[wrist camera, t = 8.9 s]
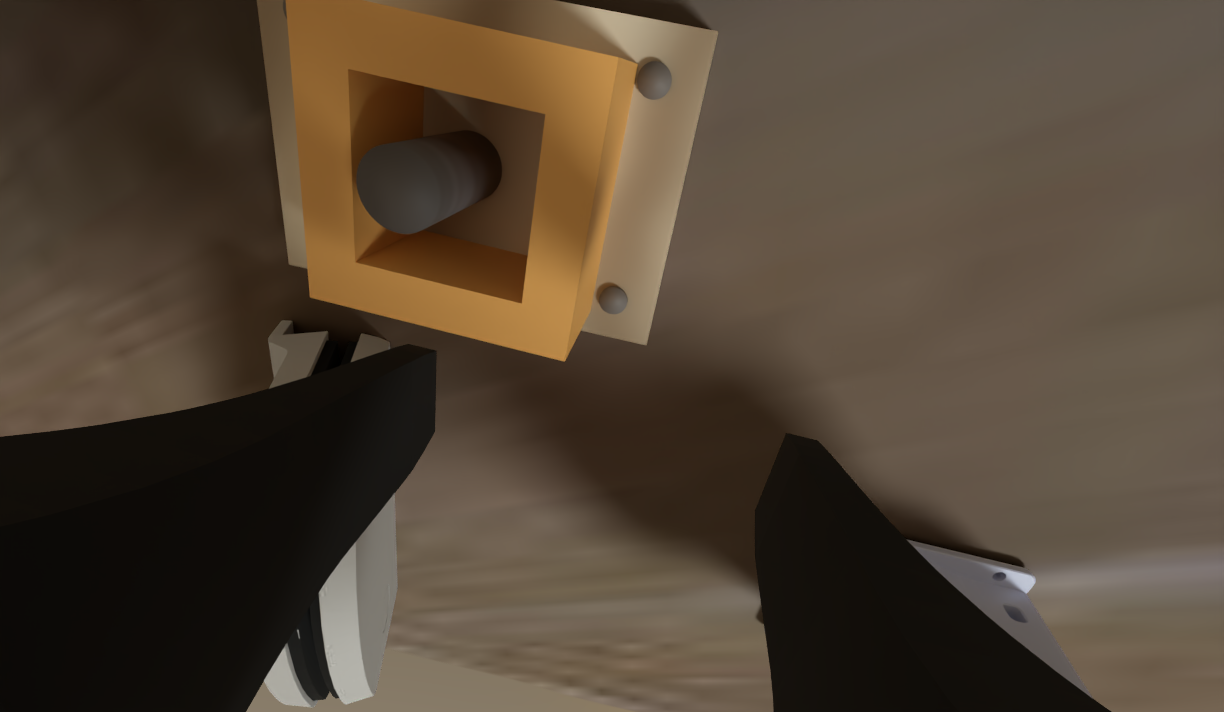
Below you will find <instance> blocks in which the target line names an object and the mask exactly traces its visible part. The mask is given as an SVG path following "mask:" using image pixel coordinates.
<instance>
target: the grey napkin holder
mask: <svg viewBox="0 0 1224 712" xmlns="http://www.w3.org/2000/svg"><path fill="white" fill-rule="evenodd" d="M268 343H269V350H270V356H271V363H272V369H273V376H274V380H273V382H272V383H271V385H270V387H269V388H273V387H276V386H279V385H282V384H286V383H289V382H292V381H296V380H299V379H302V378H305V377H309V376H312V375H315V374H318V373H321V372H324V371H327V370H330V369H333V368H335V367H338V366H341V365H344V364H347V363H350V362H353V361H356V360H359V359H362V358H365V357H367V356H370V355H373V354H376V353H379V352H382V351H385V350H389V349H390V342H388V341H386V340H384V339H382V338H379V337H375V336H371V335H367V334H363V333H361V335H360V338H359V341H358V342H349V344H348V347H347V349H346V352H345V355H344V357H343V360H342V362H341V365H340V364H339V352H338V341H329V339H328V331H323V332H312V333H300V334H294V328H293V321H289V320H282V321H281V322H280V323H279V324H278V326H277V327H276V328H275V330H274V331H273V332H272V333H271V335H270V336H269V337H268ZM397 589H398V585H397V553H396V521H395V493H394V495H393V496H392V497H391V498H390V500H389V501H388V502H387V503H386V505H385V506H384V507H383V508H382V510H381V511H380V512H379V513H378V515H377V516H376V517H375V518H374V520H373V521H372V522H371V523H370V525H369V526H368V527H367V528H366V530H365V531H364V532H363V533H362V535H361V536H360V537H359V538H358V540H357V541H356V542H355V543H354V545H353V546H352V547H351V548H350V550H349V551H348V552H347V553H346V555H345V556H344V557H343V559H342V560H341V561H340V563H339V564H338V565H337V567H336V568H335V570H334V571H333V572H332V574H331V575H330V576H329V578H328V579H327V581H326V582H325V584H324V585H323V587H322V588H321V590H320V592H319V593H318V595H317V596H316V598H315V599H314V601H313V602H312V604H311V606H310V607H309V609H308V610H307V612H306V613H305V615H304V616H303V618H302V619H301V621H300V623H299V624H298V626H297V627H296V629H295V631H294V632H293V634H292V635H291V637H290V639H289V640H288V642H287V644H286V645H285V647H284V649H283V650H282V652H281V653H280V655H279V657H278V658H277V660H276V662H275V663H274V665H273V666H272V668H271V670H270V671H269V673H268V675H267V676H266V678H265V680H264V682H265V684H266V685H267V687H268V689H269V691H270V692H271V693H272V694H273V695H274V696H275V698H277V700H279V701H280V702H282V703H283V704H285V705H294V706H305V707H314V706H315V705H316V703H317V702H318V700H323V699H326V697H327V695H328V693H329V691H330V692H331V694H332V696H334V697H335V698H340V700H341V701H342V702H343V703H344V704H349V703H352V702H355V701H358V700H361V699H365V698H368V697H371V696H374V695H375V692H376V689H377V684H378V680H379V675H380V670H381V665H382V661H383V656H384V651H385V646H386V642H387V637H388V632H389V627H390V622H391V618H392V613H393V608H394V603H395V598H396V594H397Z"/></svg>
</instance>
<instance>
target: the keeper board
mask: <svg viewBox="0 0 1224 712" xmlns="http://www.w3.org/2000/svg"><path fill="white" fill-rule="evenodd" d="M364 1H369V2H373V3H378V4H382V5H387V6H391V7H396V8H400V9H405V10H409V11H414V12H418V13H423V14H427V15H432V16H436V17H441V18H445V19H450V20H454V21H458V22H463V23H467V24H472V25H476V26H481V27H485V28H490V29H494V30H499V31H503V32H508V33H512V34H517V35H521V36H526V37H530V38H535V39H539V40H544V41H548V42H553V43H557V44H562V45H566V46H570V47H575V48H579V49H584V50H588V51H593V52H597V53H602V54H606V55H611V56H615V57H619V58H622V59H625V60H628V61H631V62H634V63H637V64H638V68H637V73H636V78H635V83H634V88H633V94H632V99H631V104H630V109H629V114H628V119H627V125H626V130H625V135H624V140H623V145H622V150H621V156H620V161H619V166H618V171H617V176H616V182H615V187H614V192H613V197H612V202H611V207H610V213H609V218H608V223H607V228H606V233H605V239H604V244H603V249H602V254H601V259H600V264H599V270H598V275H597V280H596V285H595V290H594V295H593V301H592V306H591V311H590V313H589V315H588V317H587V319H586V321H585V323H584V325H583V327H582V329H581V331H585V332H589V333H594V334H598V335H602V336H607V337H611V338H616V339H620V340H625V341H629V342H633V343H638V344H642V345H647V341H648V336H649V332H650V328H651V323H652V319H653V315H654V310H655V306H656V302H657V297H658V293H659V289H660V284H661V280H662V275H663V271H664V267H665V262H666V258H667V254H668V249H669V245H670V241H671V236H672V232H673V228H674V223H675V219H676V214H677V210H678V206H679V201H680V197H681V193H682V188H683V184H684V180H685V175H686V171H687V167H688V162H689V158H690V153H691V149H692V145H693V140H694V136H695V132H696V127H697V123H698V119H699V114H700V110H701V105H702V101H703V97H704V92H705V88H706V84H707V79H708V75H709V71H710V66H711V62H712V58H713V53H714V49H715V44H716V40H717V36H718V31H713V30H708V29H703V28H698V27H692V26H687V25H682V24H677V23H671V22H666V21H661V20H656V19H650V18H645V17H640V16H635V15H629V14H624V13H619V12H614V11H608V10H603V9H598V8H593V7H587V6H582V5H577V4H572V3H566V2H561V1H556V0H364ZM257 6H258V15H259V23H260V31H261V39H262V48H263V56H264V64H265V72H266V80H267V89H268V97H269V105H270V113H271V121H272V130H273V138H274V146H275V154H276V163H277V171H278V179H279V187H280V195H281V204H282V212H283V220H284V228H285V237H286V245H287V253H288V261H289V265H294V266H298V267H302V268H307V256H306V243H305V231H304V219H303V207H302V195H301V182H300V170H299V158H298V146H297V134H296V121H295V109H294V97H293V85H292V73H291V60H290V48H289V36H288V24H287V12H286V0H257ZM544 121H545V114H542V113H538V112H534V111H529V110H525V109H521V108H516V107H512V106H508V105H503V104H499V103H495V102H490V101H486V100H481V99H477V98H473V97H468V96H464V95H460V94H455V93H451V92H447V91H442V90H438V89H434V88H429V87H425V86H424V108H423V137H422V138H416V139H411V140H405V141H399V142H394V143H388V144H383V145H379V146H376V147H374V148H372V149H370V150H369V151H368V152H367V153H366V154H365V155H364V156H363V158H362V159H361V161H360V163H359V165H358V169H357V175H356V183H357V190H358V194H359V197H360V200H361V202H362V204H363V206H364V207H365V209H366V210H367V212H368V213H369V215H370V216H371V217H372V218H373V219H374V220H375V221H376V222H377V223H379V224H380V225H381V226H383V227H385V228H386V229H388V230H391V231H393V232H396V233H401V234H412V233H416V232H419V231H421V230H425V231H429V232H433V233H437V234H441V235H445V236H449V237H453V238H458V239H462V240H466V241H470V242H474V243H478V244H482V245H486V246H490V247H495V248H499V249H503V250H507V251H511V252H515V253H519V254H523V255H527V256H528V250H529V242H530V234H531V226H532V218H533V209H534V201H535V193H536V185H537V177H538V169H539V161H540V153H541V145H542V137H543V129H544ZM307 269H308V268H307Z"/></svg>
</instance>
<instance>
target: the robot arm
mask: <svg viewBox="0 0 1224 712" xmlns="http://www.w3.org/2000/svg"><path fill="white" fill-rule="evenodd" d="M435 400H436V351H435V350H431V349H427V348H422V347H418V346H414V345H410V344H407V345H403V346H399V347H395V348H392V349H389V350H385V351H382V352H379V353H376V354H373V355H370V356H367V357H365V358H362V359H359V360H356V361H353V362H350V363H347V364H344V365H341V366H338V367H335V368H333V369H330V370H327V371H324V372H321V373H318V374H315V375H312V376H309V377H305V378H302V379H299V380H296V381H292V382H289V383H286V384H282V385H279V386H276V387H273V388H269V389H266V390H263V391H259V392H256V393H252V394H249V395H245V396H241V397H237V398H233V399H230V400H226V401H222V402H217V403H213V404H208V405H204V406H200V407H195V408H191V409H186V410H181V411H176V412H172V413H166V414H160V415H154V416H148V417H143V418H137V419H131V420H125V421H119V422H114V423H108V424H102V425H95V426H88V427H81V428H73V429H65V430H58V431H50V432H41V433H32V434H23V435H13V436H4V437H0V712H246V711H247V709H248V707H249V706H250V704H251V702H252V700H253V699H254V697H255V695H256V693H257V692H258V690H259V688H260V687H261V685H262V683H263V681H264V680H265V678H266V676H267V675H268V673H269V671H270V670H271V668H272V666H273V665H274V663H275V662H276V660H277V658H278V657H279V655H280V653H281V652H282V650H283V649H284V647H285V645H286V644H287V642H288V640H289V639H290V637H291V635H292V634H293V632H294V631H295V629H296V627H297V626H298V624H299V623H300V621H301V619H302V618H303V616H304V615H305V613H306V612H307V610H308V609H309V607H310V606H311V604H312V602H313V601H314V599H315V598H316V596H317V595H318V593H319V592H320V590H321V588H322V587H323V585H324V584H325V582H326V581H327V579H328V578H329V576H330V575H331V574H332V572H333V571H334V570H335V568H336V567H337V565H338V564H339V563H340V561H341V560H342V559H343V557H344V556H345V555H346V553H347V552H348V551H349V550H350V548H351V547H352V546H353V545H354V543H355V542H356V541H357V540H358V538H359V537H360V536H361V535H362V533H363V532H364V531H365V530H366V528H367V527H368V526H369V525H370V523H371V522H372V521H373V520H374V518H375V517H376V516H377V515H378V513H379V512H380V511H381V510H382V508H383V507H384V506H385V505H386V503H387V502H388V501H389V500H390V498H391V497H392V496H393V495H394V493H395V492H396V491H397V489H398V488H399V487H400V486H401V484H402V483H403V482H404V481H405V479H406V478H407V477H408V475H409V474H410V473H411V471H412V470H413V468H414V467H415V465H416V463H417V462H418V460H419V458H420V457H421V455H422V454H423V452H424V450H425V448H426V446H427V445H428V443H429V441H430V439H431V438H432V436H433V434H434V432H435ZM755 559H756V568H757V575H758V583H759V591H760V598H761V605H762V612H763V620H764V628H765V634H766V641H767V648H768V656H769V663H770V670H771V680H772V691H773V706H774V712H1111V711H1110V710H1108V709H1107V708H1105V707H1104V706H1102V705H1101V704H1100V703H1098V702H1097V701H1095V700H1094V699H1093V698H1092V696H1091V694H1090V693H1089V691H1088V690H1087V688H1086V687H1085V685H1084V683H1083V682H1082V680H1081V679H1080V677H1079V676H1078V674H1077V672H1076V671H1075V669H1074V668H1073V666H1072V665H1071V663H1070V661H1069V660H1068V658H1067V657H1066V655H1065V653H1064V652H1063V650H1062V649H1061V647H1060V646H1059V644H1058V642H1057V641H1056V639H1055V638H1054V636H1053V635H1052V633H1051V631H1050V630H1049V628H1048V627H1047V625H1046V624H1045V622H1044V620H1043V619H1042V617H1041V616H1040V614H1039V613H1038V611H1037V609H1036V608H1035V606H1034V605H1033V603H1032V602H1031V600H1030V598H1029V597H1028V595H1027V593H1028V591H1029V590H1030V589H1031V588H1032V586H1033V585H1034V584H1035V582H1036V579H1035V577H1034V575H1033V574H1032V572H1031V571H1030V570H1029V569H1026V568H1023V567H1019V566H1015V565H1011V564H1007V563H1002V562H998V561H994V560H990V559H986V558H982V557H978V556H973V555H969V554H965V553H961V552H957V551H953V550H948V549H944V548H940V547H936V546H932V545H928V544H924V543H919V542H915V541H911V540H907V539H905V538H904V537H903V535H902V534H901V533H900V532H899V531H898V530H897V529H896V528H895V527H894V526H893V525H892V524H891V523H890V522H889V520H888V519H887V518H886V517H885V516H884V515H883V514H882V513H881V512H880V511H879V509H878V508H877V507H876V506H875V505H874V504H873V503H872V502H871V500H870V499H869V498H868V497H867V496H866V495H865V494H864V492H863V491H862V490H861V489H860V488H859V487H858V485H857V484H856V483H855V482H854V481H853V480H852V479H851V477H850V476H849V475H848V474H847V473H846V472H845V470H844V469H843V468H842V467H841V466H840V465H839V463H838V462H837V461H836V460H835V459H834V458H833V456H832V455H831V454H830V453H829V452H828V451H827V450H826V449H825V448H824V447H823V446H822V445H821V444H820V443H819V442H818V441H817V440H813V439H809V438H804V437H800V436H796V435H792V434H787V433H786V435H785V438H784V440H783V443H782V445H781V448H780V450H779V453H778V455H777V458H776V460H775V463H774V465H773V468H772V470H771V473H770V475H769V478H768V480H767V482H766V485H765V487H764V490H763V492H762V495H761V497H760V500H759V502H758V505H757V507H756V510H755ZM998 572H999V573H998Z"/></svg>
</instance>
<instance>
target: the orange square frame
mask: <svg viewBox="0 0 1224 712" xmlns="http://www.w3.org/2000/svg"><path fill="white" fill-rule="evenodd" d="M286 12H287V24H288V36H289V48H290V60H291V73H292V85H293V97H294V109H295V121H296V134H297V146H298V158H299V170H300V182H301V195H302V207H303V219H304V231H305V243H306V256H307V268H308V280H309V292H310V298H314V299H318V300H322V301H326V302H330V303H334V304H338V305H342V306H346V307H350V308H354V309H358V310H362V311H366V312H370V313H373V314H377V315H381V316H385V317H389V318H393V319H397V320H401V321H405V322H409V323H413V324H417V325H421V326H425V327H429V328H433V329H437V330H441V331H445V332H449V333H453V334H457V335H461V336H465V337H469V338H473V339H477V340H481V341H485V342H489V343H493V344H497V345H500V346H504V347H508V348H512V349H516V350H520V351H524V352H528V353H532V354H536V355H540V356H544V357H548V358H552V359H556V360H560V361H564V362H565V360H566V358H567V356H568V354H569V352H570V350H571V348H572V347H573V345H574V343H575V341H576V339H577V337H578V335H579V333H580V331H581V329H582V327H583V325H584V323H585V321H586V319H587V317H588V315H589V313H590V311H591V306H592V301H593V295H594V290H595V285H596V280H597V275H598V270H599V264H600V259H601V254H602V249H603V244H604V239H605V233H606V228H607V223H608V218H609V213H610V207H611V202H612V197H613V192H614V187H615V182H616V176H617V171H618V166H619V161H620V156H621V150H622V145H623V140H624V135H625V130H626V125H627V119H628V114H629V109H630V104H631V99H632V94H633V88H634V83H635V78H636V73H637V68H638V64H637V63H634V62H631V61H628V60H625V59H622V58H619V57H615V56H611V55H606V54H602V53H597V52H593V51H588V50H584V49H579V48H575V47H570V46H566V45H562V44H557V43H553V42H548V41H544V40H539V39H535V38H530V37H526V36H521V35H517V34H512V33H508V32H503V31H499V30H494V29H490V28H485V27H481V26H476V25H472V24H467V23H463V22H458V21H454V20H450V19H445V18H441V17H436V16H432V15H427V14H423V13H418V12H414V11H409V10H405V9H400V8H396V7H391V6H387V5H382V4H378V3H373V2H369V1H364V0H286ZM424 86H425V87H429V88H434V89H438V90H442V91H447V92H451V93H455V94H460V95H464V96H468V97H473V98H477V99H481V100H486V101H490V102H495V103H499V104H503V105H508V106H512V107H516V108H521V109H525V110H529V111H534V112H538V113H542V114H545V121H544V129H543V137H542V145H541V153H540V161H539V169H538V177H537V185H536V193H535V201H534V209H533V218H532V226H531V234H530V242H529V250H528V256H527V255H523V254H519V253H515V252H511V251H507V250H503V249H499V248H495V247H490V246H486V245H482V244H478V243H474V242H470V241H466V240H462V239H458V238H453V237H449V236H445V235H441V234H437V233H433V232H429V231H425V230H421V231H419V232H416V233H412V234H401V233H396V232H393V231H391V230H388V229H386V228H385V227H383V226H381V225H380V224H379V223H377V222H376V221H375V220H374V219H373V218H372V217H371V216H370V215H369V213H368V212H367V210H366V209H365V207H364V206H363V204H362V202H361V200H360V197H359V194H358V190H357V183H356V175H357V169H358V165H359V163H360V161H361V159H362V158H363V156H364V155H365V154H366V153H367V152H368V151H369V150H370V149H372V148H374V147H376V146H379V145H383V144H388V143H394V142H399V141H405V140H411V139H416V138H422V137H423V108H424Z"/></svg>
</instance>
